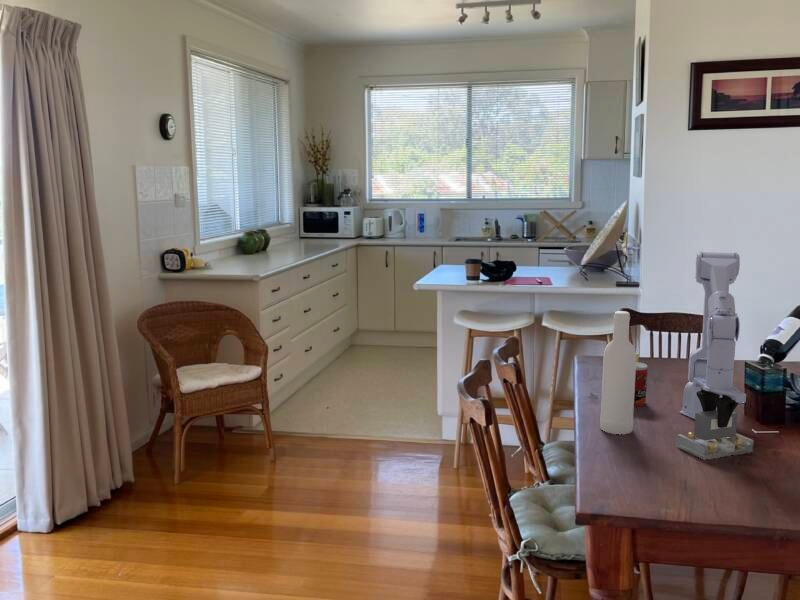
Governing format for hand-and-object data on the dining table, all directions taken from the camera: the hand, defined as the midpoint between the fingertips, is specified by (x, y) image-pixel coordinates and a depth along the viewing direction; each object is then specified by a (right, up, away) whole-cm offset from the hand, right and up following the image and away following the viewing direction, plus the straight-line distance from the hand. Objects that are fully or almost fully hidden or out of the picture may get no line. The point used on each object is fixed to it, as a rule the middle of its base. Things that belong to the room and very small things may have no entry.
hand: (715, 424), depth 175 cm
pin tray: (0, -6, +1) cm, 6 cm away
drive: (0, -3, 0) cm, 3 cm away
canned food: (-8, 0, +38) cm, 38 cm away
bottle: (-19, -4, +15) cm, 24 cm away
